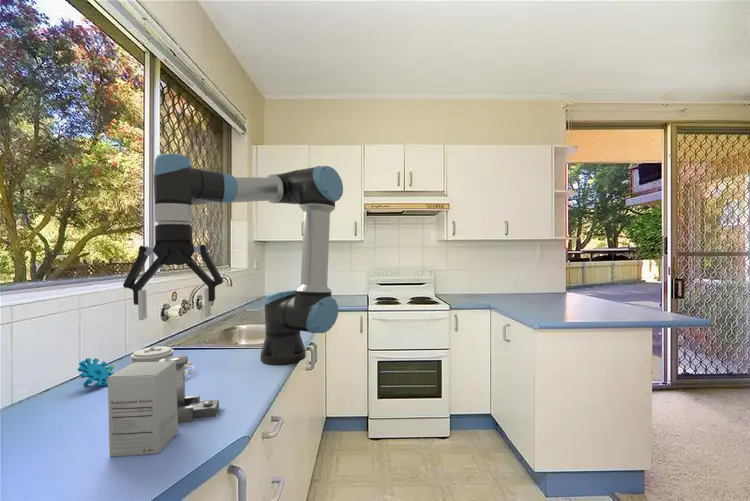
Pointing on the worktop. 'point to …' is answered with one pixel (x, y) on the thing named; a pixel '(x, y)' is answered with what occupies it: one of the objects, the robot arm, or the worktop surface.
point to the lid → (152, 354)
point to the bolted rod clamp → (197, 409)
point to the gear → (95, 372)
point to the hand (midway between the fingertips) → (175, 317)
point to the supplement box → (142, 408)
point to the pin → (180, 377)
